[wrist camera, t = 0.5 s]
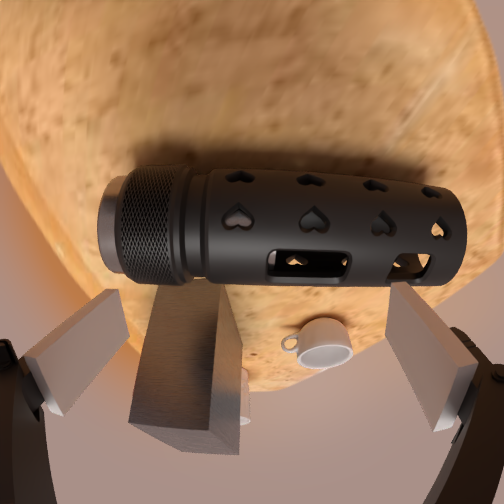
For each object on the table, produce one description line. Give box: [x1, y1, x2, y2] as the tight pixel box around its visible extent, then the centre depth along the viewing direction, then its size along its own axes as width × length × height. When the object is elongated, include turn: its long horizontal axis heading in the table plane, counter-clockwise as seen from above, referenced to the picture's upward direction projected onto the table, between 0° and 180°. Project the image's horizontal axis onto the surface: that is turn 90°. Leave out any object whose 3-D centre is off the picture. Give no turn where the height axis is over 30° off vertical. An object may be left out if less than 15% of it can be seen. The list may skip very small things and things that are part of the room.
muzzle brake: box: [97, 165, 467, 287], centre depth 24 cm, size 10×28×10 cm, turn 88°
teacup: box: [281, 317, 353, 369], centre depth 41 cm, size 10×8×5 cm
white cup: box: [240, 368, 250, 425], centre depth 51 cm, size 8×8×10 cm
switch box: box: [128, 279, 242, 455], centre depth 35 cm, size 16×8×18 cm, turn 7°
